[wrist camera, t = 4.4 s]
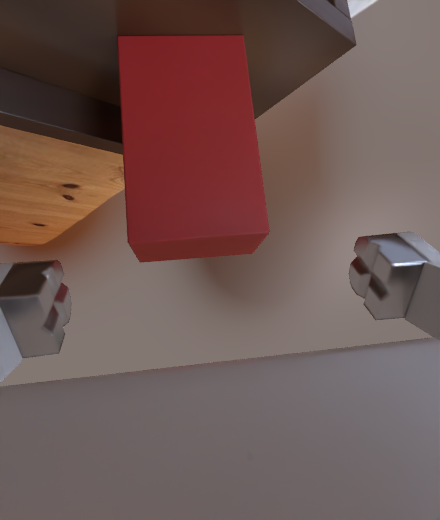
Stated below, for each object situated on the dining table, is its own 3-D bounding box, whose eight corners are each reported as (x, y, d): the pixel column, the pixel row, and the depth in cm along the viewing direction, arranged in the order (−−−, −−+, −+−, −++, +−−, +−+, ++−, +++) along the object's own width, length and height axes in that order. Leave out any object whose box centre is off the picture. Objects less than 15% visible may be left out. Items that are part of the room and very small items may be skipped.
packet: (116, 34, 17) (127, 243, 15) (243, 34, 18) (270, 233, 16) (129, 91, 21) (139, 262, 19) (232, 89, 21) (253, 254, 19)
